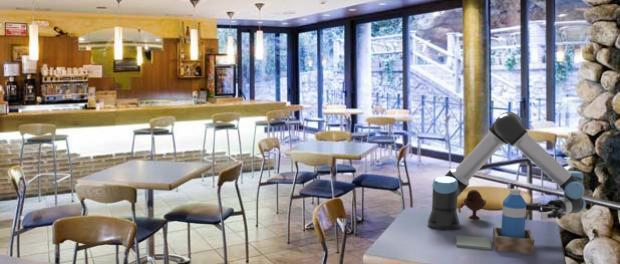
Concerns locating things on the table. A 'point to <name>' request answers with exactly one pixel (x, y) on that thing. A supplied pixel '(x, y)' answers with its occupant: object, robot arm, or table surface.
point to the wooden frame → (513, 242)
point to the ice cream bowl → (474, 203)
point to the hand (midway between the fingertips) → (528, 212)
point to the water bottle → (513, 215)
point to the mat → (473, 242)
